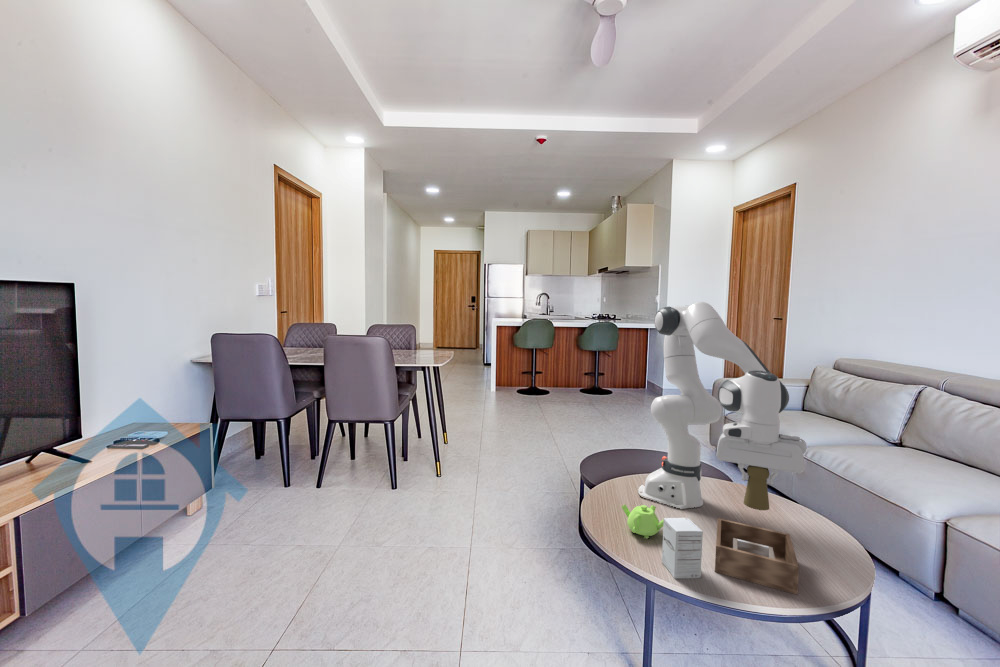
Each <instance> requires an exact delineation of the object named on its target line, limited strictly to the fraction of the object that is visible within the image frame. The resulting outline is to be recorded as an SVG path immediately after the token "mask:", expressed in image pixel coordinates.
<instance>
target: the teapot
mask: <svg viewBox="0 0 1000 667" xmlns="http://www.w3.org/2000/svg"><path fill="white" fill-rule="evenodd" d="M620 507H621V509H622V510H623V512H624V514H625V516H626V517H627V520H626V522H627V523H626V524H627V526H628V527H629V530H631V531H632V532H633V533H636V535H640V536H642V537H643V536H644V537H643V539H645V538H649V539H650V537H653V536H654V535H656V534H657V533H659V531H660V530H661V529H662V528H663V524H664V518H663V519H662V520H660V521H659V518H658V516H657V514H656V508H657V507H656V506H655V505H652V504H651V505H650V507H648V506H647V505H646V504H641V505H637V506H634V508H633V509H632V510H631V511H630V509H629V508H628V506H627V505H626V504H623V505H622V506H620ZM633 533H632V534H633Z"/></svg>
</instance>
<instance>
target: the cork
mask: <svg viewBox="0 0 1000 667" xmlns="http://www.w3.org/2000/svg"><path fill="white" fill-rule="evenodd" d="M746 473H748V475H749V477H748V481H747V484H746V488H745V489H746V490H745V493H744V499H743V504H744V505H745V506H746V507H747V508H750V509H753V510H757V511H769V510H770V501H769V491H768V485H767V484H766V482H767V478H768V477H770V470H769V468H763V467H757V466H751V465H747V467H746Z"/></svg>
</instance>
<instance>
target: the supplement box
mask: <svg viewBox="0 0 1000 667" xmlns="http://www.w3.org/2000/svg"><path fill="white" fill-rule="evenodd" d="M663 519H664V524H663V527H662V528H663V529H662V545H661V546H662V547H661V563H662V564H663V566H664V567H665V568H666V569H667V570H668V572H669V573H670V574H671V576H672V577H673V578H674V579H700V578H701V576H702V575H701V574H702V571H701V570H702V558H703V556H702V554H703V553H702V552H703V537H704V536H703V535H704V532H703V530H702V529H701V528H700V527H699V526H698V525H696V523H694V522H693V521H692V520H691V519H690V518H689V517H664V518H663Z"/></svg>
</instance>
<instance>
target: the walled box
mask: <svg viewBox="0 0 1000 667" xmlns="http://www.w3.org/2000/svg"><path fill="white" fill-rule="evenodd" d="M716 523H717V525H716V539H715V540H716V541H715V558H714V559H715V561H714V572H715V573H717V574H722V575H725V576H727V577H733V578H737V579H740V580H743V581H746V582H750V583H753V584H758V585H760V586H765V587H767V588H772V589H775V590H778V589H779V590H780V591H782V590H783V591H782V592H785V591H786V593H790V594H794V595H796V594H797V595H798V594H799V593H798V590H799V573H800V572H799V571H800V570H799V569H800V566H799V563H798V559H797V554H796V552H795V549H794V545H793V541H792V537H791V534H790V533H787V532H783V531H778V530H772V529H769V528H765V527H759V526H755V525H750V524H746V523H742V522H738V521H733V520H728V519H723V518H720V517H719V518H718V517H717V522H716ZM779 590H778V591H779Z"/></svg>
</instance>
